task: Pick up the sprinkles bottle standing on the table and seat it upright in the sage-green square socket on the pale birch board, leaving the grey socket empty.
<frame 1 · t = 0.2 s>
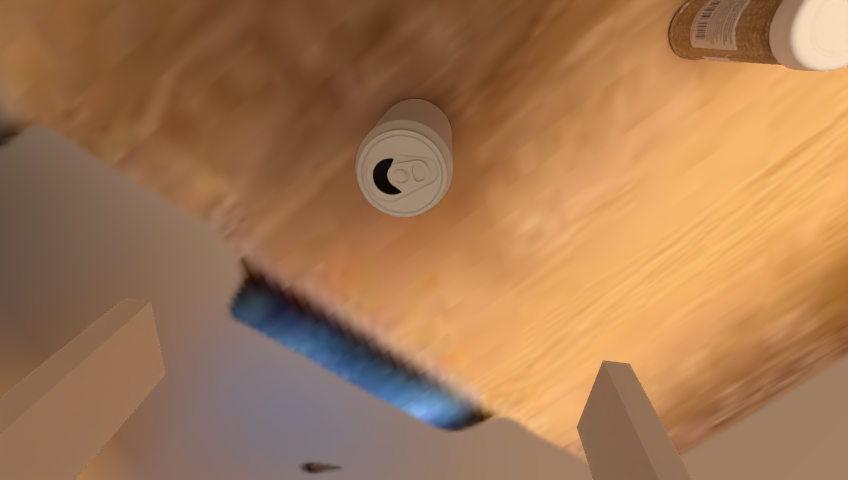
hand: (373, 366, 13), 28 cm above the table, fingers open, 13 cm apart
sprinkles bottle: (697, 26, 32), on the table
beverage can: (416, 134, 37), on the table
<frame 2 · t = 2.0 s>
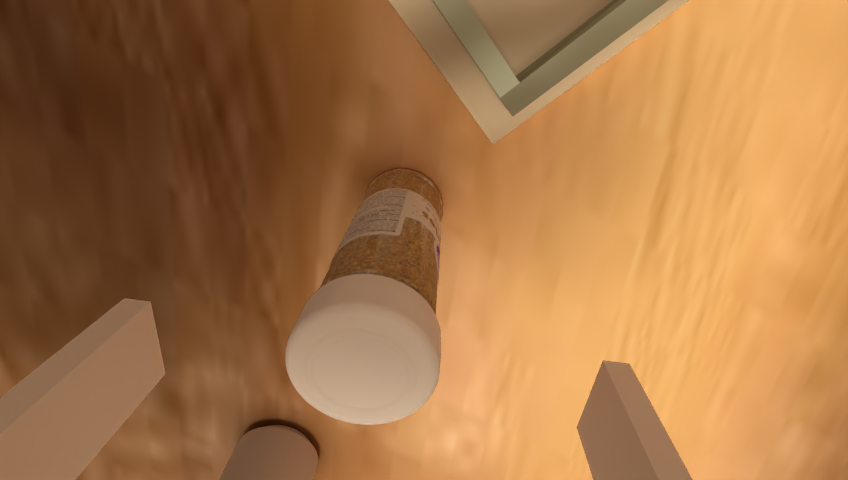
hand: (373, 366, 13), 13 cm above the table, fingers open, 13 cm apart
sprinkles bottle: (403, 202, 24), on the table
beverage can: (282, 444, 34), on the table
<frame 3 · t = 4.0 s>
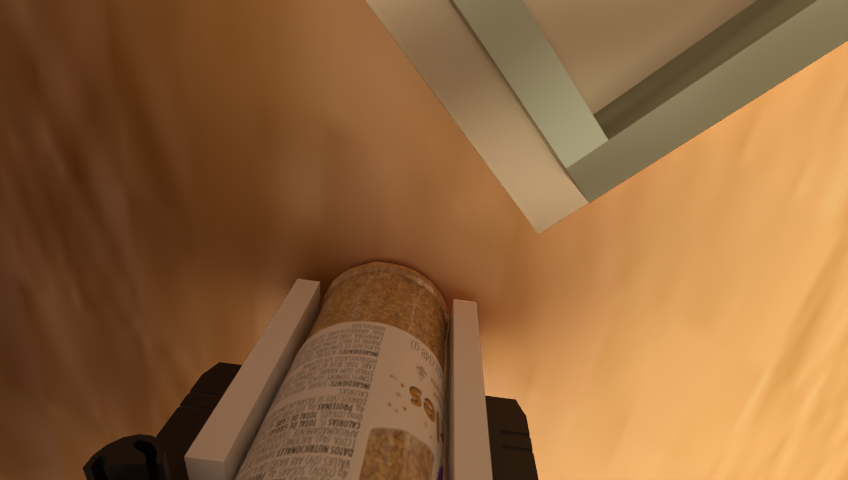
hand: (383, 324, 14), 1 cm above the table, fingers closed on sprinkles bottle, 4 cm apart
sprinkles bottle: (386, 308, 15), on the table, touching gripper
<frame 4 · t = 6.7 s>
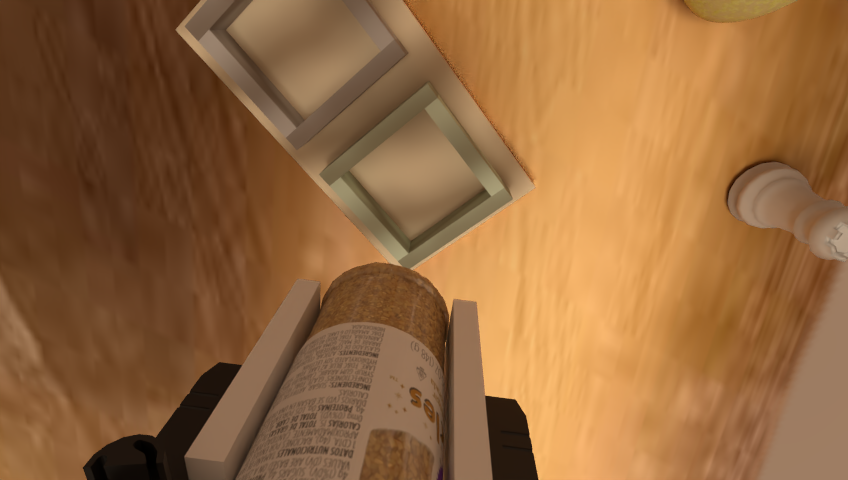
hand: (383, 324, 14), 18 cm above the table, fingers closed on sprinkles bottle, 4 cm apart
rook chess piece: (756, 190, 30), on the table
sprinkles bottle: (386, 309, 15), point 17 cm above the table, touching gripper
board: (368, 110, 29), on the table
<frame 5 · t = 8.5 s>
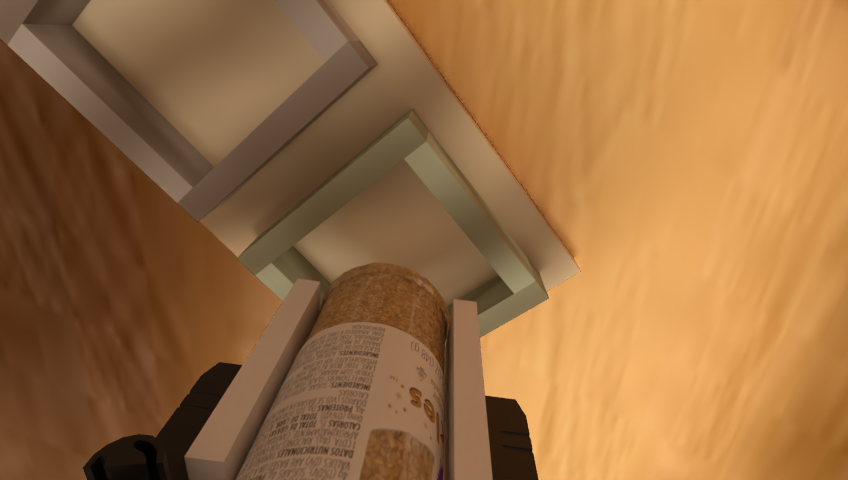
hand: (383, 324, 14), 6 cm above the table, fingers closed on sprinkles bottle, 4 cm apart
sprinkles bottle: (386, 309, 15), point 5 cm above the table, touching gripper
board: (319, 152, 18), on the table
when the fingers open (4 cm above the table, at t = 9.7 s): sprinkles bottle drops 2 cm, resting on board.
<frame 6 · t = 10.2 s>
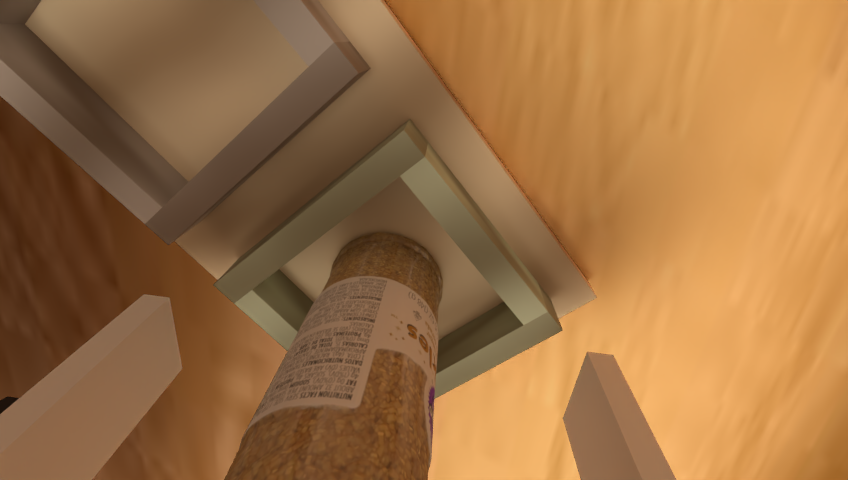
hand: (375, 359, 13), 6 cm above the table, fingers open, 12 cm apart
sprinkles bottle: (387, 275, 17), point 1 cm above the table, touching board
board: (307, 165, 16), on the table
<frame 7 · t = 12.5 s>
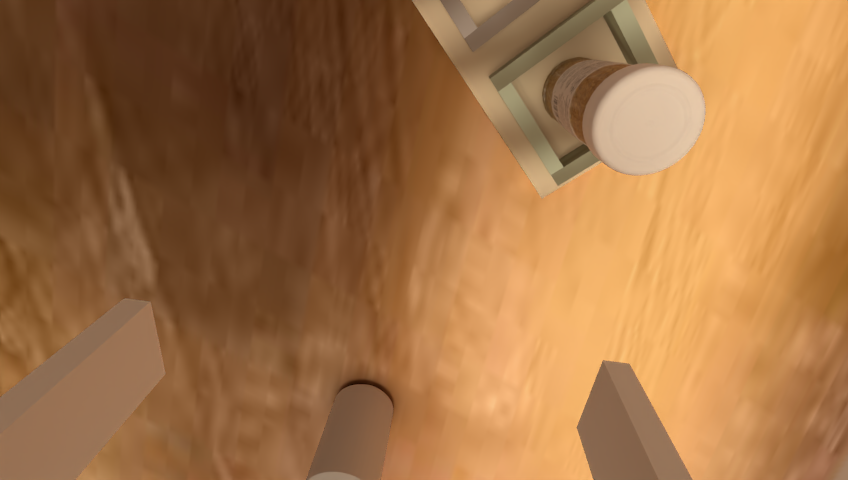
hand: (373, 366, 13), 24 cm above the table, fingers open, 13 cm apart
sprinkles bottle: (572, 90, 30), point 1 cm above the table, touching board
board: (534, 21, 29), on the table
beverage can: (365, 400, 46), on the table
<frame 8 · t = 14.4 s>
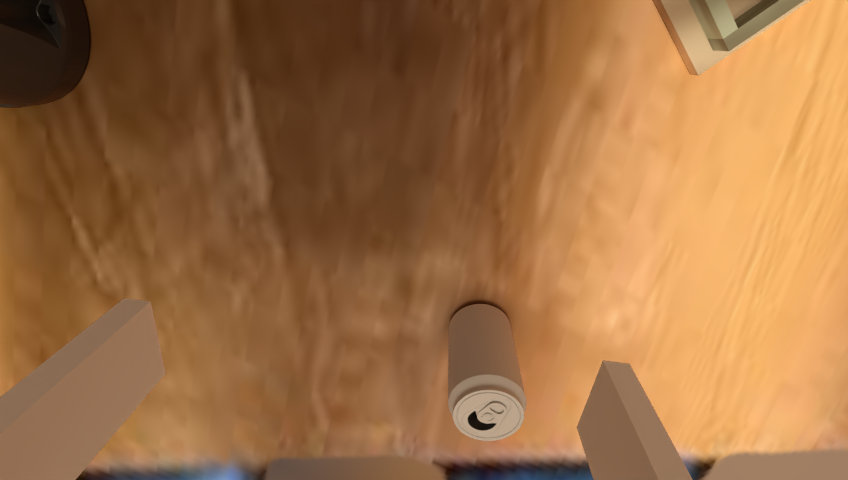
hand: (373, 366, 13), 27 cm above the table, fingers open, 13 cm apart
beverage can: (479, 323, 44), on the table
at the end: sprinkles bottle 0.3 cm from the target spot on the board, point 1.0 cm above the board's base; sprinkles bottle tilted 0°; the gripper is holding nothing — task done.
